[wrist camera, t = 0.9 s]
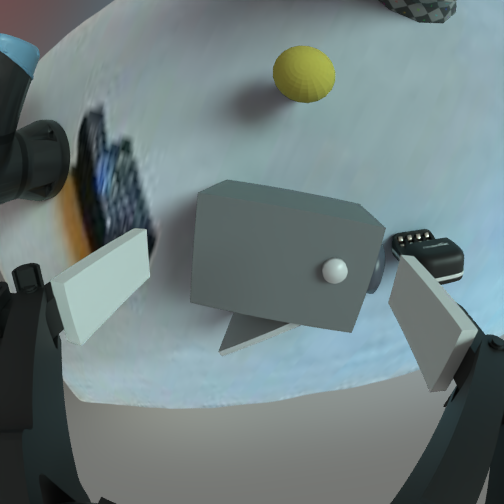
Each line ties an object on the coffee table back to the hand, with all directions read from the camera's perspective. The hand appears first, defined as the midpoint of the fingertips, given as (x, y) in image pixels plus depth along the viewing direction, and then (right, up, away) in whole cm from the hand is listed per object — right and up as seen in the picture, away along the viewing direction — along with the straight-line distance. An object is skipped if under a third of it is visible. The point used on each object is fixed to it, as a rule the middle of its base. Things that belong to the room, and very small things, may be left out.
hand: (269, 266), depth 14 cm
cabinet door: (+2, -7, +27) cm, 28 cm away
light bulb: (+6, +22, +18) cm, 29 cm away
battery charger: (+22, +3, +23) cm, 31 cm away
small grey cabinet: (+4, +3, +25) cm, 25 cm away
